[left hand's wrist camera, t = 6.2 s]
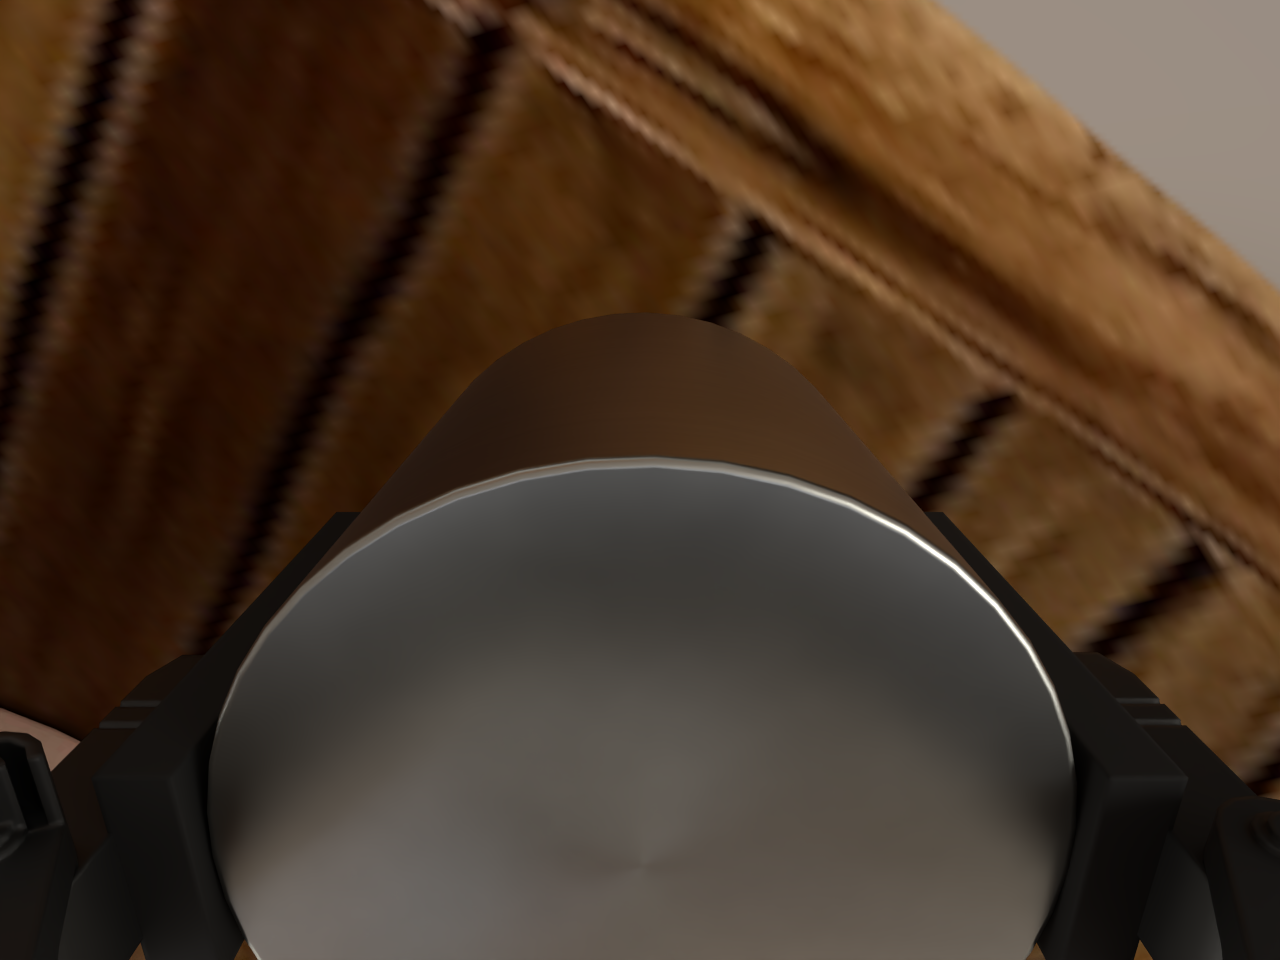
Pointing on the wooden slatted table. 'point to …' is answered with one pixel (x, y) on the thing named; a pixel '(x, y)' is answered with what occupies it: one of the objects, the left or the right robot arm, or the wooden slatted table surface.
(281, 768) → the can
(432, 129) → the wooden slatted table surface
